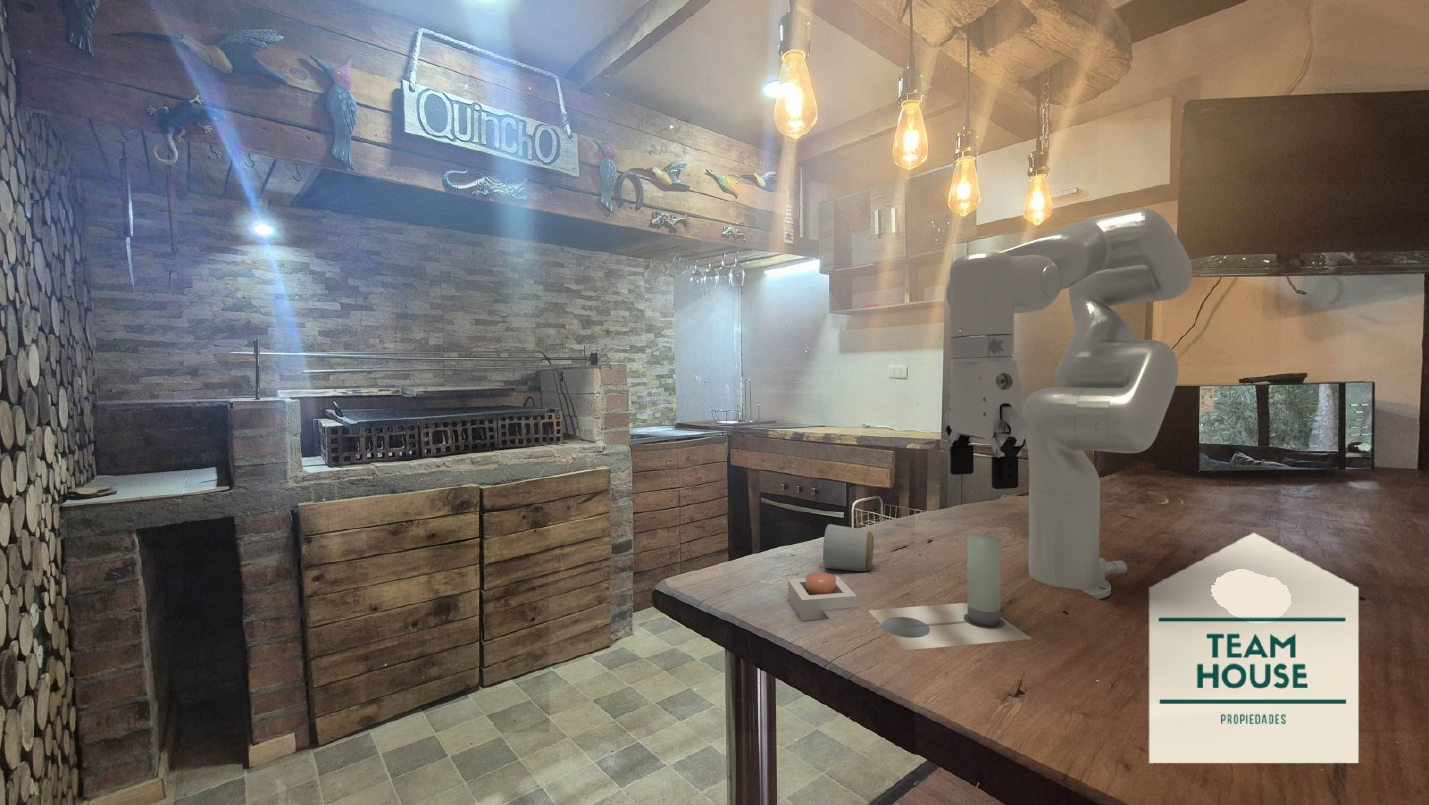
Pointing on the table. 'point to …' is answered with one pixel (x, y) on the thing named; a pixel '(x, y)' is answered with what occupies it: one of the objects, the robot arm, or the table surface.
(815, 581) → the button
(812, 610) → the button housing
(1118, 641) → the table surface
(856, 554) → the ceramic mug
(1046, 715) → the table surface
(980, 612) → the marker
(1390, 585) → the table surface
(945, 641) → the board
